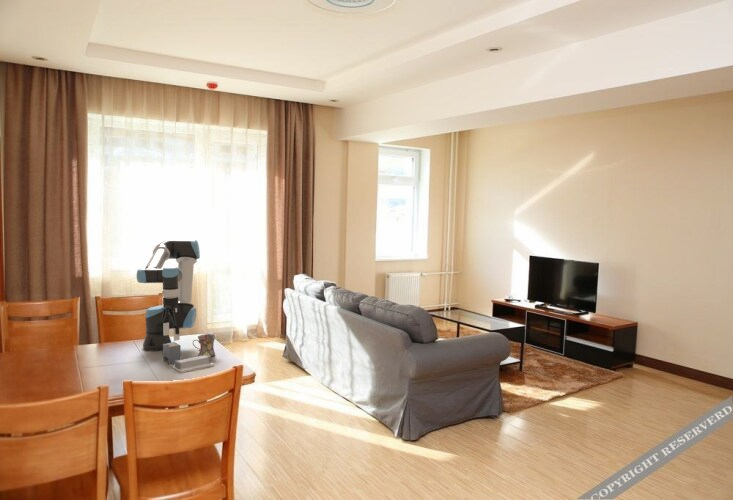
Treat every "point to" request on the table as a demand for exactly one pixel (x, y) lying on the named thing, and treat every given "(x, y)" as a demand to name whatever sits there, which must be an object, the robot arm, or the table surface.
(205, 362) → the butter dish
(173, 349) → the module
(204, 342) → the mug
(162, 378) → the table surface
